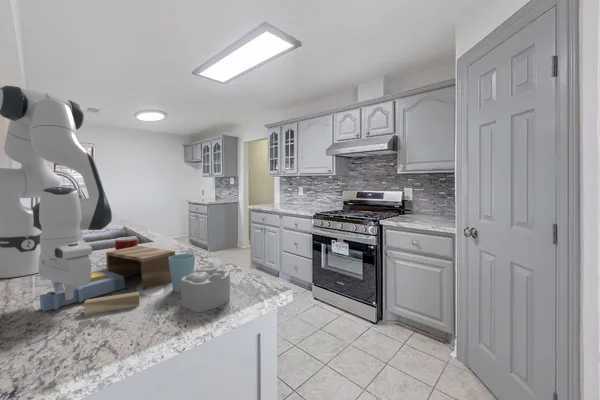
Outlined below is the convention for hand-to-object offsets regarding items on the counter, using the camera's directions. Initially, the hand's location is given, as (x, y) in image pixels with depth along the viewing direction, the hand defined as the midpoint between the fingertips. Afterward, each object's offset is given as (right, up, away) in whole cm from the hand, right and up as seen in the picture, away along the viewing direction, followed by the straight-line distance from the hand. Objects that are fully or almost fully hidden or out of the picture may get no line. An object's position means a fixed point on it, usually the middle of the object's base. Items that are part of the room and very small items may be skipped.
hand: (64, 297), depth 78 cm
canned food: (-8, 0, +41) cm, 42 cm away
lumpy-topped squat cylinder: (+39, -2, +2) cm, 39 cm away
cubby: (+9, -1, +20) cm, 22 cm away
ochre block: (0, -1, +12) cm, 12 cm away
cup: (+28, -2, +11) cm, 30 cm away
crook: (0, -1, +6) cm, 6 cm away
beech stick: (+15, -2, -2) cm, 15 cm away
